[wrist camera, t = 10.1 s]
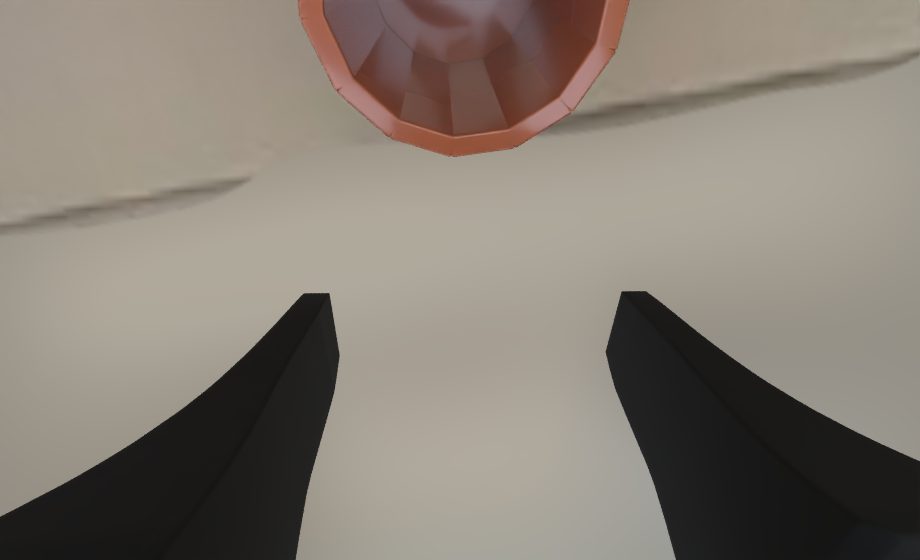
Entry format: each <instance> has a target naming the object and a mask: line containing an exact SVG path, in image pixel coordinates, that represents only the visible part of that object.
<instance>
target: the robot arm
mask: <svg viewBox="0 0 920 560" xmlns="http://www.w3.org/2000/svg"><path fill="white" fill-rule="evenodd" d="M606 355H607V359H608V363H609V368H610V372H611V375H612V379H613V382H614V386H615V389H616V392H617V394H618V397H619V399H620V401H621V404H622V406H623V409H624V411H625V414H626V416H627V418H628V421H629V423H630V426H631V428H632V430H633V433H634V435H635V438H636V440H637V442H638V445H639V447H640V450H641V452H642V454H643V457H644V459H645V461H646V464H647V466H648V469H649V471H650V474H651V477H652V480H653V482H654V485H655V488H656V492H657V495H658V498H659V502H660V505H661V508H662V512H663V515H664V518H665V521H666V525H667V529H668V533H669V536H670V540H671V543H672V547H673V550H674V554H675V558H676V560H920V461H918V460H915V459H913V458H911V457H909V456H907V455H904V454H902V453H900V452H898V451H896V450H893V449H891V448H889V447H887V446H885V445H882V444H880V443H878V442H876V441H874V440H872V439H870V438H868V437H865V436H863V435H861V434H859V433H857V432H855V431H853V430H851V429H849V428H847V427H845V426H843V425H841V424H840V423H838V422H836V421H834V420H832V419H830V418H828V417H826V416H824V415H823V414H821V413H819V412H817V411H815V410H813V409H811V408H809V407H808V406H806V405H804V404H803V403H801V402H799V401H797V400H796V399H794V398H793V397H791V396H789V395H788V394H786V393H784V392H783V391H781V390H779V389H777V388H776V387H774V386H773V385H771V384H770V383H768V382H766V381H765V380H763V379H762V378H760V377H759V376H757V375H756V374H754V373H752V372H751V371H750V370H748V369H747V368H745V367H744V366H742V365H741V364H740V363H738V362H737V361H736V360H734V359H733V358H731V357H730V356H729V355H727V354H726V353H725V352H723V351H722V350H720V349H719V348H718V347H716V346H715V345H714V344H712V343H711V342H710V341H708V340H707V339H706V338H705V337H703V336H702V335H701V334H700V333H698V332H697V331H696V330H695V329H693V328H692V327H691V326H689V325H688V324H687V323H686V322H684V321H683V320H682V319H681V318H680V317H678V316H677V315H676V314H675V313H673V312H672V311H671V310H669V309H668V308H667V307H666V306H665V305H663V304H662V303H661V302H659V301H658V300H657V299H655V298H654V297H653V296H652V295H650V294H649V293H648V292H646V291H625V292H624V291H622V292H621V296H620V300H619V304H618V307H617V311H616V315H615V319H614V323H613V326H612V330H611V334H610V338H609V341H608V345H607V349H606ZM338 363H339V349H338V343H337V337H336V331H335V325H334V319H333V312H332V306H331V300H330V295H329V293H305V294H303V295H302V296H301V297H300V298H299V299H298V300H297V301H296V302H295V303H294V304H293V305H292V306H291V307H290V309H289V310H288V311H287V312H286V313H285V314H284V315H283V316H282V317H281V318H280V320H279V321H278V322H277V323H276V324H275V325H274V326H273V327H272V328H271V329H270V330H269V331H268V332H267V333H266V334H265V336H263V338H262V339H261V340H260V341H259V342H258V343H257V344H256V345H255V346H254V347H253V348H252V349H251V350H250V351H249V352H248V353H247V354H246V355H245V356H244V357H243V358H242V359H240V360H239V361H238V362H237V363H236V364H235V365H234V366H233V367H232V368H231V369H230V370H229V371H228V372H226V373H225V374H224V375H223V376H222V377H221V378H220V379H219V380H218V381H216V382H215V383H214V384H213V385H212V386H211V387H209V388H208V389H207V390H206V391H205V392H203V393H202V394H201V395H200V396H198V397H197V398H196V399H194V400H193V401H192V402H190V403H189V404H188V405H187V406H185V407H184V408H183V409H181V410H180V411H179V412H177V413H176V414H175V415H173V416H172V417H170V418H169V419H167V420H166V421H164V422H163V423H161V424H160V425H159V426H157V427H156V428H154V429H153V430H151V431H150V432H148V433H147V434H145V435H144V436H143V437H141V438H140V439H138V440H137V441H135V442H134V443H132V444H131V445H129V446H127V447H126V448H124V449H122V450H121V451H119V452H118V453H116V454H114V455H113V456H111V457H110V458H108V459H106V460H105V461H103V462H101V463H99V464H98V465H96V466H94V467H93V468H91V469H89V470H87V471H86V472H84V473H82V474H81V475H79V476H77V477H75V478H73V479H72V480H70V481H68V482H66V483H64V484H63V485H61V486H59V487H57V488H55V489H53V490H51V491H49V492H47V493H45V494H43V495H41V496H39V497H38V498H36V499H34V500H32V501H30V502H28V503H26V504H24V505H22V506H20V507H19V508H17V509H15V510H13V511H11V512H9V513H7V514H5V515H3V516H1V517H0V560H296V553H297V547H298V541H299V535H300V529H301V523H302V517H303V511H304V506H305V500H306V494H307V490H308V486H309V482H310V477H311V473H312V470H313V466H314V463H315V459H316V456H317V452H318V448H319V445H320V441H321V438H322V434H323V431H324V427H325V424H326V420H327V416H328V413H329V409H330V406H331V402H332V398H333V395H334V390H335V384H336V377H337V370H338Z"/></svg>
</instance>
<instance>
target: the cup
mask: <svg viewBox="0 0 920 560" xmlns="http://www.w3.org/2000/svg"><path fill="white" fill-rule="evenodd" d="M629 1H630V0H298V8H299V16H300V18H301V23H302V25H303V27H304V29H305V31H306V33H307V35H308V37H309V39H310V41H311V43H312V45H313V47H314V49H315V51H316V53H317V55H318V57H319V59H320V61H321V63H322V65H323V67H324V69H325V71H326V73H327V75H328V77H329V79H330V81H331V83H332V85H333V87H334V89H335V90H337V92H338V94H339V95H340V96H341V97H343V98H344V99H345V100H346V101H347V102H348V103H350V104H351V105H352V106H353V107H354V108H355V109H356V110H358V111H359V112H360V113H361V114H362V115H363V116H364V117H366V118H367V119H368V120H369V121H370V122H371V123H373V124H374V125H375V126H376V127H377V128H378V129H379V130H381V131H382V132H383V133H384V134H385V135H386V136H388V137H391V139H393V140H397V141H400V142H403V143H407V144H410V145H413V146H416V147H420V148H423V149H426V150H430V151H433V152H436V153H440V154H443V155H446V156H453V157H457V156H464V155H471V154H477V153H485V152H493V151H500V150H507V149H513V148H514V147H518V146H519V145H521V144H523V143H524V142H526V141H527V140H529V139H531V138H532V137H534V136H535V135H537V134H539V133H540V132H542V131H543V130H545V129H547V128H548V127H550V126H551V125H553V124H555V123H556V122H558V121H559V120H561V119H563V118H564V117H566V116H567V115H569V114H570V113H571V111H573V110H574V109H575V108H576V107H577V105H578V104H579V102H580V101H581V100H582V98H583V97H584V96H585V94H586V93H587V91H588V90H589V89H590V87H591V86H592V84H593V83H594V82H595V80H596V79H597V77H598V76H599V75H600V73H601V72H602V70H603V69H604V68H605V66H606V65H607V63H608V62H609V61H610V59H611V58H612V56H613V55H614V54H615V50H616V49H617V47H618V44H619V40H620V36H621V32H622V28H623V24H624V20H625V17H626V13H627V9H628V5H629Z"/></svg>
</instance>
